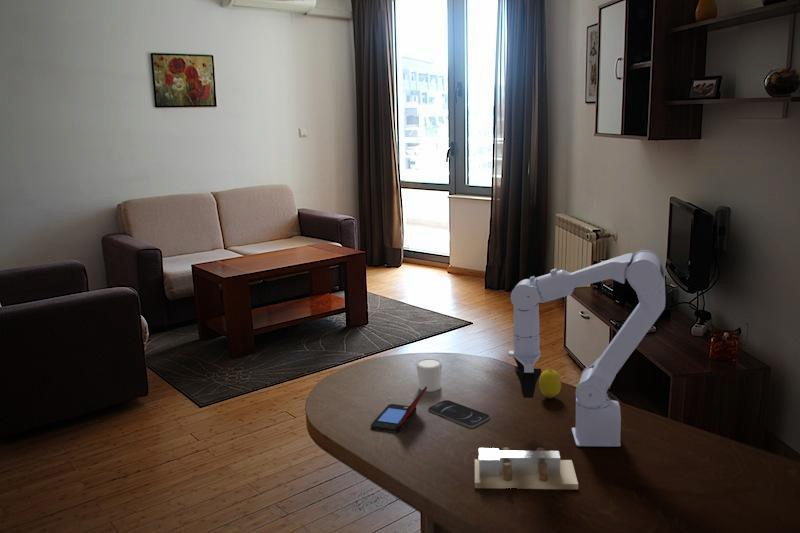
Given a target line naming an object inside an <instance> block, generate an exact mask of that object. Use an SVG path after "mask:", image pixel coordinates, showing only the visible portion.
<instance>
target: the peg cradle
mask: <svg viewBox="0 0 800 533" xmlns="http://www.w3.org/2000/svg"><path fill="white" fill-rule="evenodd" d="M501 451H511V449H510V447H502V448H501ZM536 451H546V450H545V448H544V447H537V448H536ZM575 470H576V469H575V467H574V463H573V459H560V475H548V465H547V464H546V463H540V464H539V475H512V464H511V463H508V462H506V463H504V464H503V473H504V475H500V477H480V473H479V458H478V459H477V458H474V488H475V489H503V490H504V489H506V488H507V489H508V488H510V489H511V488H517V489H520V490H523V489H524V490H528V489H529V490H579V482H578V478H577V475H576V471H575ZM517 489H516V490H517Z"/></svg>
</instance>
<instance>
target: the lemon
mask: <svg viewBox="0 0 800 533" xmlns="http://www.w3.org/2000/svg"><path fill="white" fill-rule="evenodd" d="M538 387H539V390H540V391H539V392H540V393H542V395H543V396H545V397H547V398H548V399H552V398H553V397H555V396H558V394H559V393H560V391H561V388H562V379H561V376H560V374H559V373H558V372H557V371H556V370H554V369H552V368H548V369H545V370H544V371H541V375H540V376H539V378H538Z"/></svg>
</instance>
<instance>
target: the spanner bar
mask: <svg viewBox="0 0 800 533" xmlns="http://www.w3.org/2000/svg"><path fill="white" fill-rule="evenodd" d="M478 459H479V473H480V477H500V475H504V473H503V464H504V463H506V462H508V463H511V464H512V475H539V464H540V463H546V464H547V465H548V475H560V460H561V455H560V451H559V450H545V451H537V450H510V451H502V450H500V449H499V448H497V447H496V448H495V447H492V448H491V447H490V448H489V447H479V448H478Z"/></svg>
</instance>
